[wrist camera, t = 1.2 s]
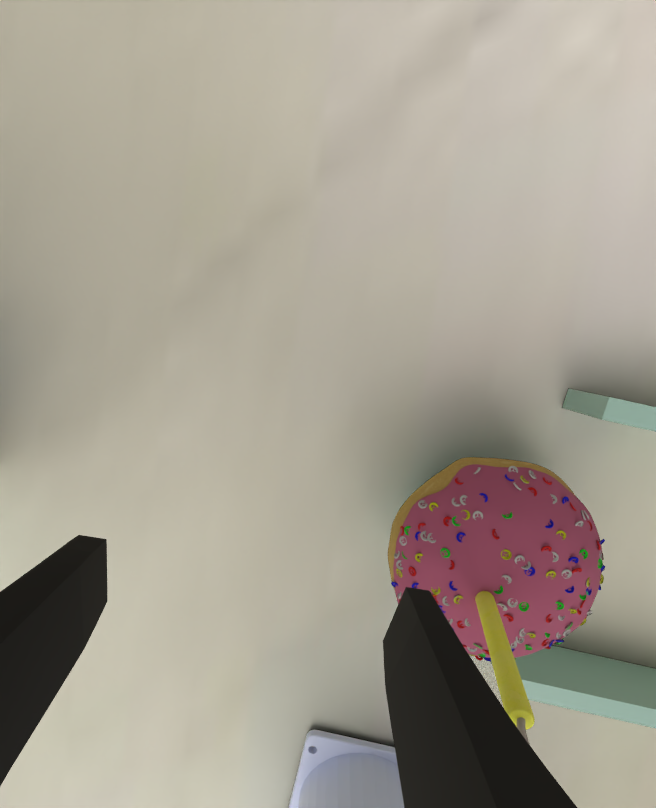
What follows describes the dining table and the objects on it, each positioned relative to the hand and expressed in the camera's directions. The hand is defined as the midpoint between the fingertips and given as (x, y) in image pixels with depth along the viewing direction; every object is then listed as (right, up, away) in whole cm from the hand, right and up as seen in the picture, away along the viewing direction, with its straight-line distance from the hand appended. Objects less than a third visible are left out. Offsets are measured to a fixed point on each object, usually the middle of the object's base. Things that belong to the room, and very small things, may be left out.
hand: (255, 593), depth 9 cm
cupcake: (+9, -1, +11) cm, 14 cm away
